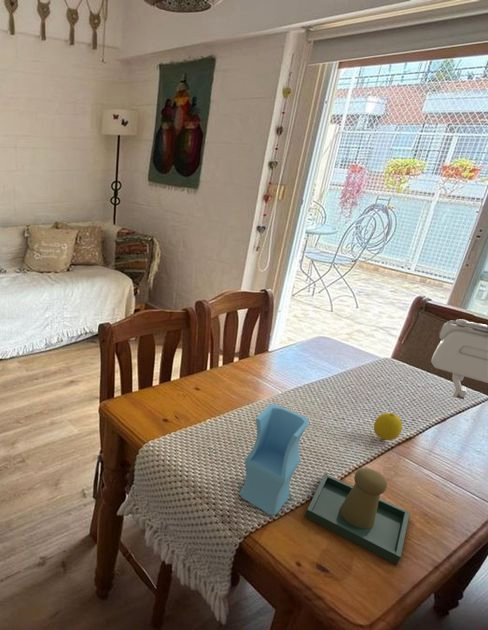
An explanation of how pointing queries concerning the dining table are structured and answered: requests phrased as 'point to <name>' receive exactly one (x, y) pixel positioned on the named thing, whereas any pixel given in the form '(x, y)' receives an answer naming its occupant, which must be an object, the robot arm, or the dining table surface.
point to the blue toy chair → (273, 458)
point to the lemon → (388, 426)
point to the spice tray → (378, 539)
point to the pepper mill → (363, 498)
